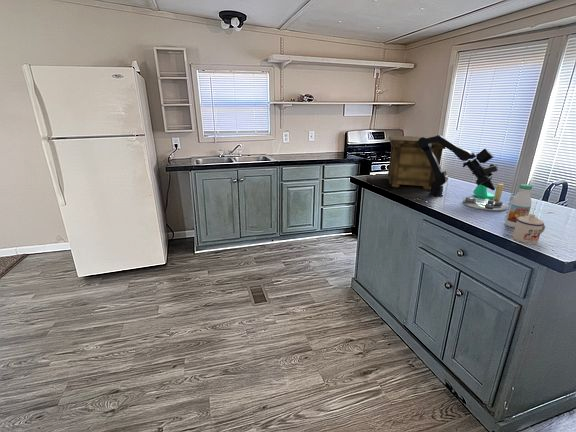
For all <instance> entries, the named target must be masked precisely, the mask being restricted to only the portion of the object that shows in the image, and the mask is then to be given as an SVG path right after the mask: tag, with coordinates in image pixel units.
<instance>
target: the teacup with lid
mask: <svg viewBox="0 0 576 432" xmlns="http://www.w3.org/2000/svg"><path fill="white" fill-rule="evenodd" d="M545 230H546V226H545V222H544V220H542V219H540V218H538V217H537V216H536V214H534V213H529V215H528V216H521V217H518V218H517V223H516V226H515V228H514V231H513V234H512V238H514V239H513V240H515V239H516V240H518V241H517V242H519V241H521V242H520V243H522V242H525V243H524V244H526V243H536V244H537V243H538V242H539V239H540V236H541V234H543V233H544V232H545ZM516 240H515V241H516Z"/></svg>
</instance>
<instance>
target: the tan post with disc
mask: <svg viewBox="0 0 576 432" xmlns="http://www.w3.org/2000/svg"><path fill="white" fill-rule="evenodd" d="M504 186H505V184H504V183H497V184H496V187H495V193H494V195H495V196H494V199H489V200H488V202H487V203H488V204H493V205H497V206H501V205H502V204H504V203H503V202H502V201H501V197H502V194H503V189H504Z"/></svg>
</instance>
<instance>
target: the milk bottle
mask: <svg viewBox="0 0 576 432" xmlns="http://www.w3.org/2000/svg"><path fill="white" fill-rule="evenodd" d="M518 189H519V190H518V192H517V193H516V194H515V195H514V196H513V198H512V199H511V201H510V204H509V207H508V208H509V209H508V212H507V215H506V219H505V225H506V226H507V227H510V228H513V229H515V226H516V223H517V218H518V217H521V216H529V214H530V211H531V207H532V197H531V191H532V189H533V185H531V184H527V183H526V184H525V183H522V184H519V188H518Z"/></svg>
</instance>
